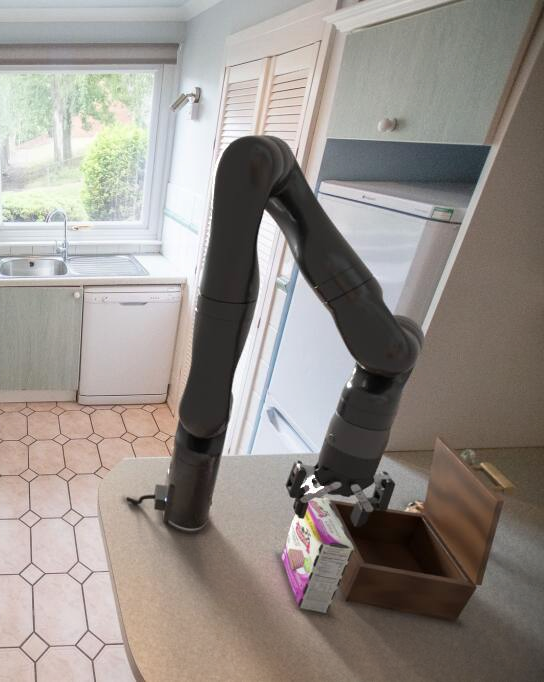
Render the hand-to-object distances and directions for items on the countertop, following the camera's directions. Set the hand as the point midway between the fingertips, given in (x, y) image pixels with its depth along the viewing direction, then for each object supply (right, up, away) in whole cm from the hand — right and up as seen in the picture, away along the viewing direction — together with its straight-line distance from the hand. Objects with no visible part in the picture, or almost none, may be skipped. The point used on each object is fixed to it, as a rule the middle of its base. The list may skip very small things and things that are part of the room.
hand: (326, 519), depth 77 cm
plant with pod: (+36, -8, +22) cm, 43 cm away
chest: (+16, -14, +9) cm, 23 cm away
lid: (+22, +2, 0) cm, 22 cm away
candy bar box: (0, -15, +7) cm, 17 cm away
